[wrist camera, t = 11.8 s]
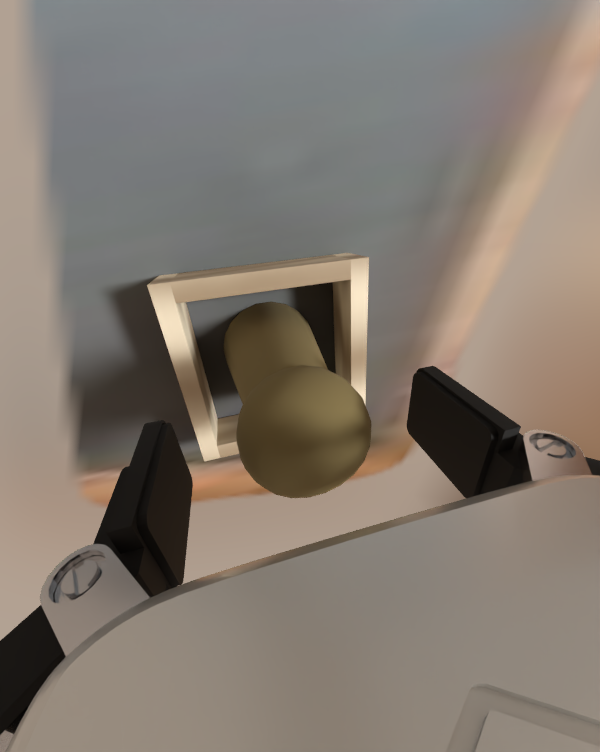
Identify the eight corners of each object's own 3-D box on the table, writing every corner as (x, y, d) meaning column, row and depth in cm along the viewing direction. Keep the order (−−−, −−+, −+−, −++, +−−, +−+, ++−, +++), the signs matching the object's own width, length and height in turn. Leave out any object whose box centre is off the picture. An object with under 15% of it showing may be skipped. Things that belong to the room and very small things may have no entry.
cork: (212, 376, 19) (204, 520, 10) (238, 288, 17) (259, 362, 8) (295, 394, 22) (353, 527, 12) (327, 318, 19) (428, 406, 10)
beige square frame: (159, 275, 16) (146, 284, 13) (347, 253, 18) (368, 257, 15) (206, 432, 21) (204, 461, 19) (348, 402, 23) (364, 424, 20)
